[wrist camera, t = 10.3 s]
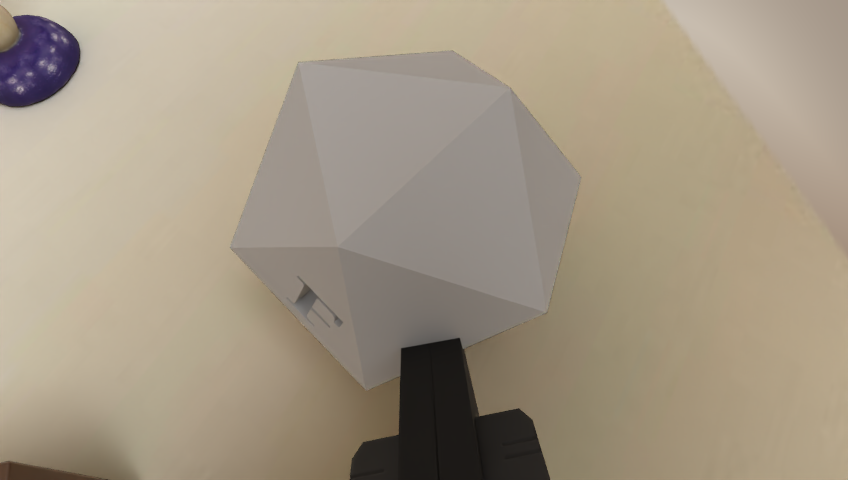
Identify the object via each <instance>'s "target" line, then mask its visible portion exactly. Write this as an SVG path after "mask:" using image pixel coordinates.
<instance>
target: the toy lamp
mask: <svg viewBox="0 0 848 480" xmlns="http://www.w3.org/2000/svg"><path fill="white" fill-rule="evenodd" d="M79 56H80V50H79V45H78V42H77V40H76V39H75V38H74V36H73V35H72V34H71V33H70V32H69V31H67V30H66V29H65V28H64V27H62V26H60V25H59V24H57V23H55V22H53V21H51V20H49V19H47V18H43V17H40V16H33V15H22V16H14V17H12V16H11V14H10V13H9V12H8V11H7V10H6V9H5V8H4V7H3V6H1V5H0V103H1V104H5V105H7V106H25V105H31V104H33V103H36V102H38V101H41V100H44V99H46V98H48V97H49V96H51V95H52V94H54V93H55V92H56V91H58V90H59V89H60V88H61V87H63V86H64V85H65V83H66V82H67V81H68V80H69V78H70V77H71V75H72V74H73V73H74V72H75V70H76V67H77V65H78V62H79Z"/></svg>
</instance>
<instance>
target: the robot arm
mask: <svg viewBox="0 0 848 480" xmlns="http://www.w3.org/2000/svg"><path fill="white" fill-rule="evenodd" d="M350 480H550V477H549V474H548V470H547V467H546V464H545V460H544V457H543V454H542V451H541V447H540V444H539V440H538V438H537V434H536V430H535V427H534V424H533V420H532V419H531V418H529V417H528V416H527V415H526V414H525V413H524V412H523V411H521V410H520V409H519V408H518V409H513V410H509V411H504V412H499V413H494V414H489V415H484V416H480V417H479V413H478V408H477V404H476V400H475V395H474V391H473V387H472V382H471V378H470V374H469V370H468V365H467V361H466V357H465V352H464V349H463V348H462V344H461V340H460V338H455V339H450V340H444V341H438V342H433V343H427V344H422V345H416V346H411V347H405V348H401V368H400V410H399V435H396V436H391V437H386V438H381V439H376V440H372V441H367V442H363V443H362V445H361V446H360V448H359V449H358V451H357V452H356V454H355V455H354V457H353V458H352V464H351V472H350Z"/></svg>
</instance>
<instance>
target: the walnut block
mask: <svg viewBox="0 0 848 480" xmlns="http://www.w3.org/2000/svg"><path fill="white" fill-rule="evenodd" d="M0 480H108V479H102V478H97V477H92V476H86V475H81V474H76V473H70V472H65V471H60V470H54V469H49V468H44V467H38V466H33V465H28V464H22V463H17V462H12V461H6V462H1V463H0Z"/></svg>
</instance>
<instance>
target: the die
mask: <svg viewBox="0 0 848 480" xmlns="http://www.w3.org/2000/svg"><path fill="white" fill-rule="evenodd" d="M580 180H581V176H580V175H579V173H578V172H577V171H576V170H575V168H574V167H573V166H572V165H571V163H570V162H569V161H568V160H567V158H566V157H565V156H564V155H563V153H562V152H561V151H560V150H559V148H558V147H557V146H556V145H555V143H554V142H553V141H552V140H551V138H550V137H549V136H548V135H547V133H546V132H545V131H544V130H543V128H542V127H541V126H540V124H539V123H538V122H537V121H536V119H535V118H534V117H533V116H532V114H531V113H530V112H529V111H528V109H527V108H526V107H525V106H524V104H523V103H522V102H521V101H520V99H519V98H518V97H517V96H516V94H515V93H514V92H513V91H512V89H511V88H510V87H508V86H507V85H505V84H504V83H502V82H501V81H499V80H498V79H496V78H494V77H493V76H491V75H490V74H488V73H487V72H485V71H484V70H482V69H480V68H479V67H477V66H476V65H474V64H473V63H471V62H470V61H468V60H466V59H465V58H463V57H462V56H460V55H459V54H457V53H456V52H454V51H440V52H427V53H414V54H400V55H387V56H373V57H360V58H347V59H333V60H320V61H307V62H298V64H297V67H296V70H295V72H294V75H293V78H292V81H291V83H290V86H289V89H288V91H287V94H286V97H285V100H284V102H283V105H282V108H281V110H280V113H279V116H278V118H277V121H276V124H275V127H274V129H273V132H272V135H271V137H270V140H269V143H268V145H267V148H266V151H265V154H264V156H263V159H262V162H261V164H260V167H259V170H258V172H257V175H256V178H255V181H254V183H253V186H252V189H251V191H250V194H249V197H248V199H247V202H246V205H245V208H244V210H243V213H242V216H241V218H240V221H239V224H238V227H237V229H236V232H235V235H234V237H233V240H232V243H231V245H230V249H231V250H232V251H233V252H234V253H235V254H236V255H237V256H238V257H239V258H240V259H241V260H242V261H243V262H244V263H245V264H246V265H247V266H248V267H249V269H250V270H251V271H252V272H253V273H254V274H255V275H256V276H257V277H258V278H259V279H260V280H261V281H262V282H263V283H264V284H265V285H266V286H267V287H268V288H269V290H270V291H271V292H272V293H273V294H274V295H275V296H276V297H277V298H278V299H279V300H280V301H281V302H282V303H283V304H284V305H285V306H286V307H287V308H288V309H289V310H290V312H291V313H292V314H293V315H294V316H295V317H296V318H297V319H298V320H299V321H300V322H301V323H302V324H303V325H304V326H305V327H306V328H307V329H308V330H309V331H310V333H311V334H312V335H313V336H314V337H315V338H316V339H317V340H318V341H319V342H320V343H321V344H322V345H323V346H324V347H325V348H326V349H327V350H328V351H329V352H330V354H331V355H332V356H333V357H334V358H335V359H336V360H337V361H338V362H339V363H340V364H341V365H342V366H343V367H344V368H345V369H346V370H347V371H348V372H349V373H350V374H351V376H352V377H353V378H354V379H355V380H356V381H357V382H358V383H359V384H360V385H361V386H362V387H363V388H364V389H365V390H366V391H367V390H369V389H372V388H374V387H376V386H379V385H381V384H383V383H386V382H388V381H390V380H393V379H395V378H397V377H399V376H400V368H401V348H405V347H411V346H416V345H422V344H427V343H433V342H438V341H444V340H450V339H455V338H460V340H461V344H462V348H463V349H464V348H467V347H469V346H471V345H474V344H476V343H478V342H481V341H483V340H485V339H487V338H490V337H492V336H494V335H497V334H499V333H501V332H504V331H506V330H508V329H511V328H513V327H515V326H518V325H520V324H522V323H525V322H527V321H529V320H531V319H534V318H536V317H538V316H541V315H543V314H545V313H547V311H548V307H549V303H550V299H551V295H552V291H553V287H554V283H555V279H556V275H557V272H558V268H559V264H560V260H561V256H562V252H563V248H564V244H565V240H566V236H567V232H568V228H569V224H570V220H571V216H572V212H573V208H574V204H575V200H576V196H577V192H578V188H579V184H580Z"/></svg>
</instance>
